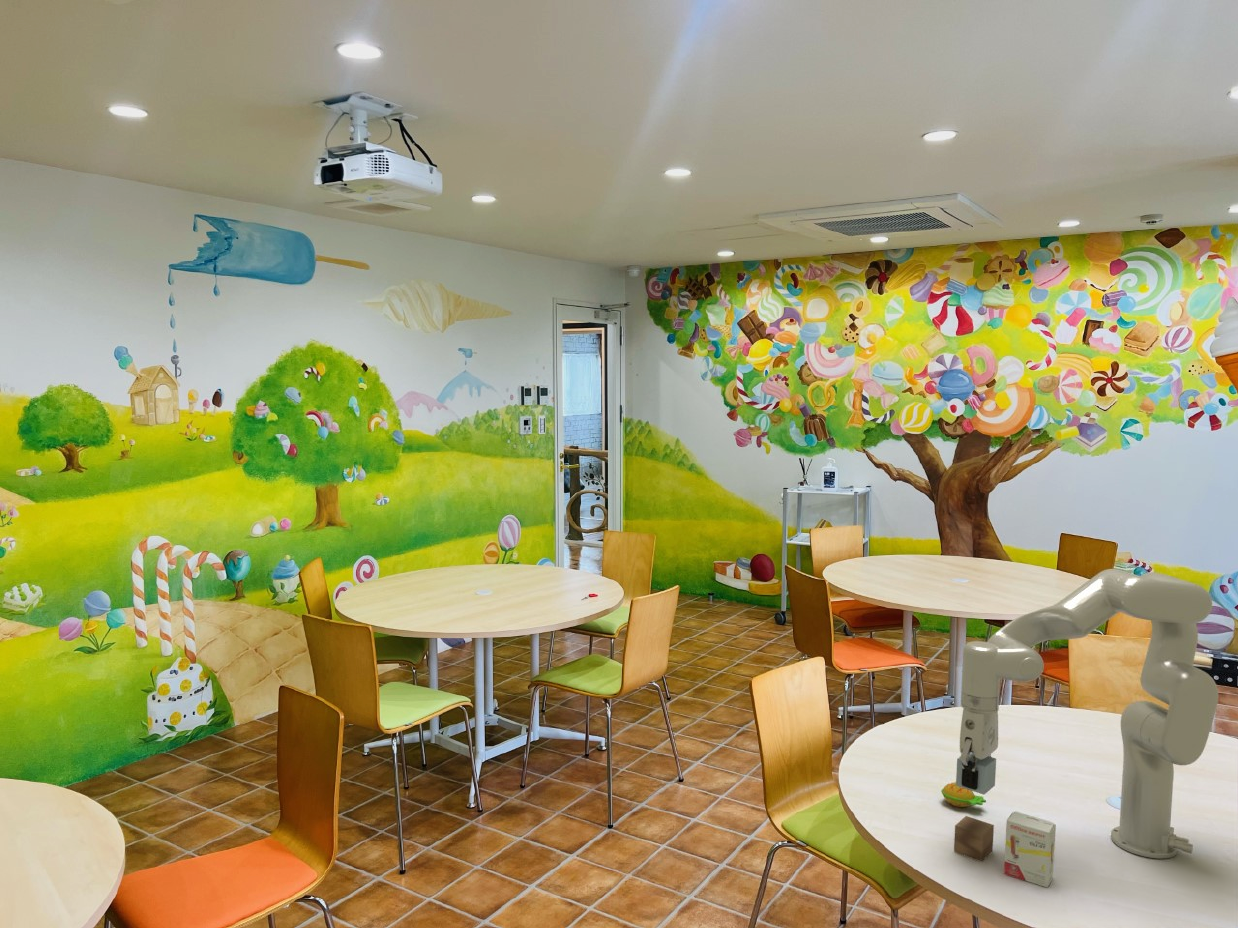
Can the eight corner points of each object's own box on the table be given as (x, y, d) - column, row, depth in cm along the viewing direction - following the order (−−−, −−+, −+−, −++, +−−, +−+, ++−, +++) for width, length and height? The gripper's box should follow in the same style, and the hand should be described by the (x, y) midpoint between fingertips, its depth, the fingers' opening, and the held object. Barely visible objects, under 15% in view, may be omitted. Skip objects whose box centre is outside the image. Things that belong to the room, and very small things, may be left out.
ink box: (1002, 873, 184) (1005, 818, 183) (1009, 864, 187) (1011, 809, 186) (1047, 888, 178) (1050, 831, 177) (1053, 878, 182) (1056, 822, 181)
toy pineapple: (947, 795, 219) (948, 774, 219) (989, 808, 212) (990, 786, 212) (936, 804, 214) (937, 783, 213) (978, 818, 207) (979, 796, 207)
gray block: (994, 785, 191) (996, 758, 191) (984, 794, 187) (985, 766, 186) (967, 776, 195) (968, 750, 195) (955, 785, 191) (957, 758, 191)
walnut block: (992, 851, 193) (993, 824, 192) (981, 862, 188) (983, 834, 188) (964, 841, 197) (966, 815, 196) (953, 851, 192) (955, 825, 192)
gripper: (981, 715, 181) (977, 801, 182) (1012, 695, 193) (1008, 775, 195) (945, 706, 186) (941, 789, 187) (977, 686, 198) (973, 765, 200)
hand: (975, 781), depth 191 cm, fingers closed on gray block, 6 cm apart
